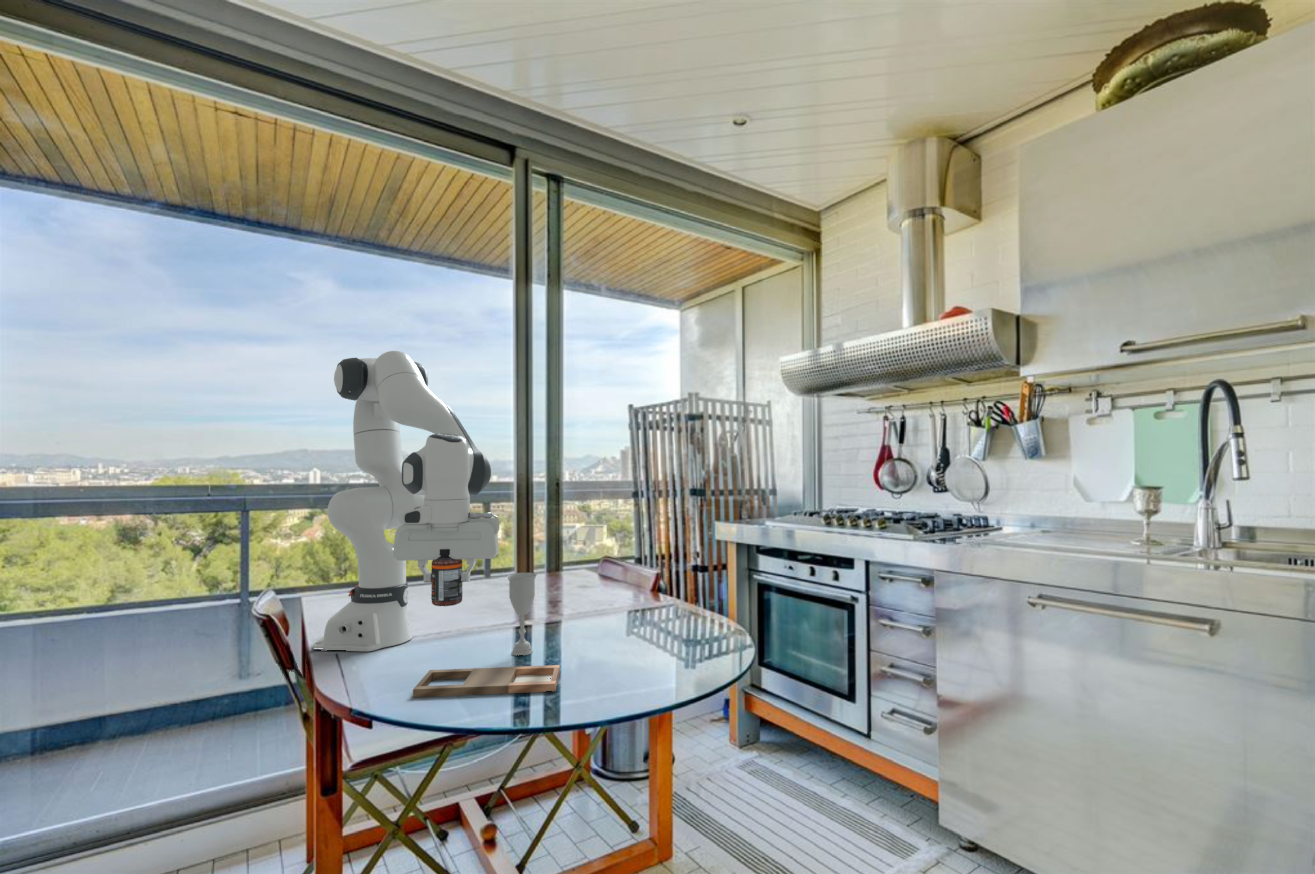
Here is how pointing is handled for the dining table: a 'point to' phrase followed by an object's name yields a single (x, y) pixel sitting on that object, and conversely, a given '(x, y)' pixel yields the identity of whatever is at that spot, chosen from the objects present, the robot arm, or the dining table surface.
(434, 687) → the wooden compartment tray
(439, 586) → the supplement bottle
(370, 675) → the dining table surface
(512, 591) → the chalice
